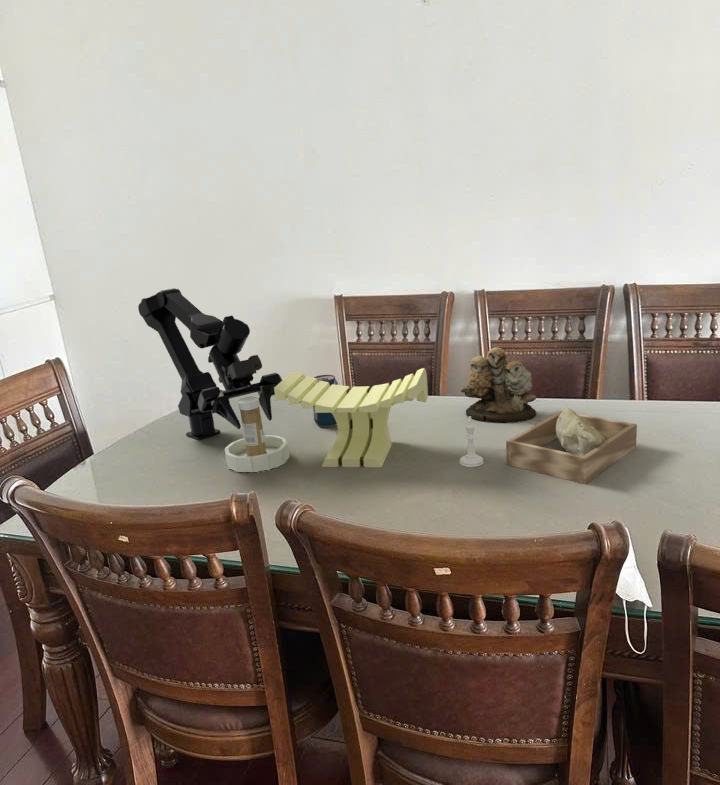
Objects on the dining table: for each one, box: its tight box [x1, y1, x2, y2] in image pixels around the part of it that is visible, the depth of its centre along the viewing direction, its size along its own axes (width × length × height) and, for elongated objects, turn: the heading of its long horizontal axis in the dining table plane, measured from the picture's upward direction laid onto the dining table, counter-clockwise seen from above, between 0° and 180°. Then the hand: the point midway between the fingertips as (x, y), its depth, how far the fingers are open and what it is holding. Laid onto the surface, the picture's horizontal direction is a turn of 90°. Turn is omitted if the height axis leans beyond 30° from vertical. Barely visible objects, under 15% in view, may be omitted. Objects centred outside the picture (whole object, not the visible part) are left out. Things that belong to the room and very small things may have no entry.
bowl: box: [224, 434, 290, 473], centre depth 149 cm, size 14×14×4 cm
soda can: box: [312, 374, 339, 428], centre depth 169 cm, size 7×7×12 cm
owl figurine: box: [460, 346, 537, 424], centre depth 163 cm, size 18×12×17 cm, turn 75°
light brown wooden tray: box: [505, 410, 638, 485], centre depth 137 cm, size 17×22×5 cm
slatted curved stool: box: [274, 367, 429, 468], centre depth 147 cm, size 30×16×18 cm, turn 78°
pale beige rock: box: [556, 407, 606, 456], centre depth 137 cm, size 15×7×15 cm
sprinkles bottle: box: [237, 396, 267, 456], centre depth 148 cm, size 5×5×13 cm
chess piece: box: [459, 416, 485, 468], centre depth 137 cm, size 5×5×10 cm
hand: (255, 423), depth 146 cm, fingers open, 7 cm apart
